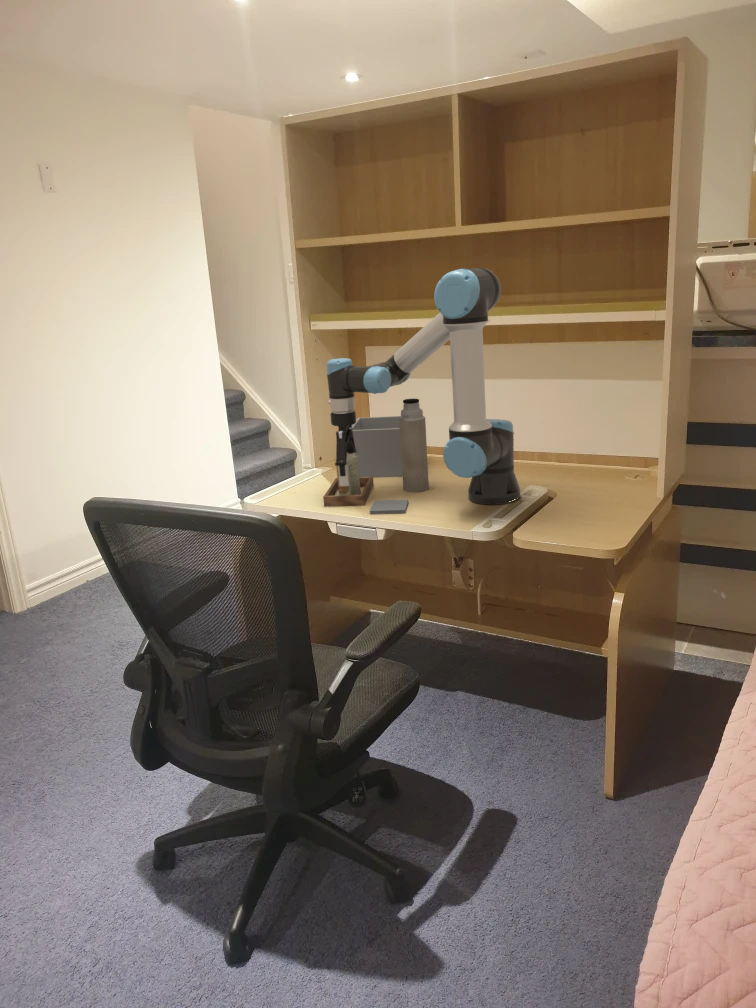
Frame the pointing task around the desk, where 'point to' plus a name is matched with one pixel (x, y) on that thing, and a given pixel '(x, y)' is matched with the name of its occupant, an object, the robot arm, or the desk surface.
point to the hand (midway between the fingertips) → (347, 479)
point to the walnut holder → (348, 499)
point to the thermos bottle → (413, 447)
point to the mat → (389, 506)
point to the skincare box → (351, 477)
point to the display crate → (378, 446)
